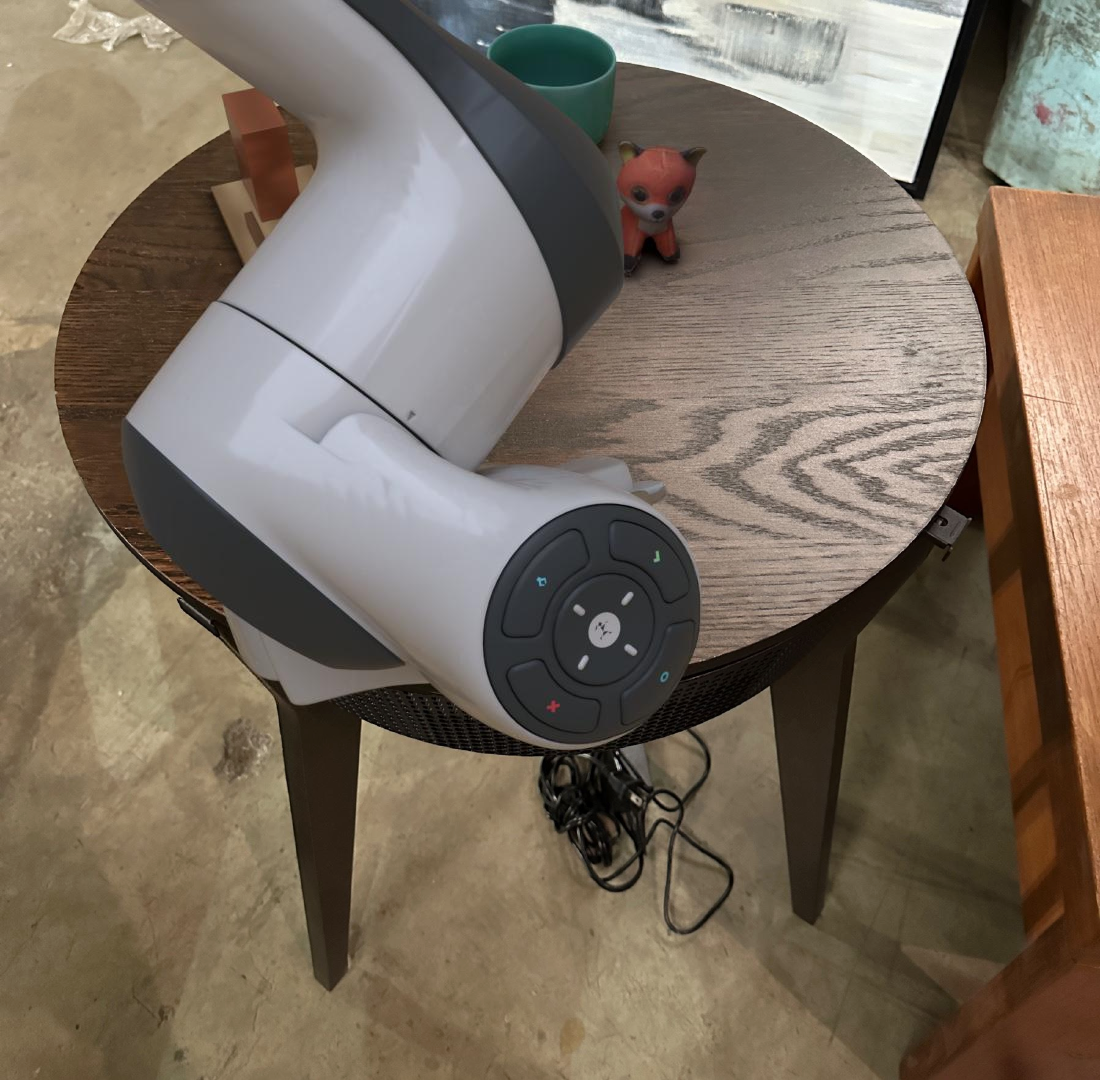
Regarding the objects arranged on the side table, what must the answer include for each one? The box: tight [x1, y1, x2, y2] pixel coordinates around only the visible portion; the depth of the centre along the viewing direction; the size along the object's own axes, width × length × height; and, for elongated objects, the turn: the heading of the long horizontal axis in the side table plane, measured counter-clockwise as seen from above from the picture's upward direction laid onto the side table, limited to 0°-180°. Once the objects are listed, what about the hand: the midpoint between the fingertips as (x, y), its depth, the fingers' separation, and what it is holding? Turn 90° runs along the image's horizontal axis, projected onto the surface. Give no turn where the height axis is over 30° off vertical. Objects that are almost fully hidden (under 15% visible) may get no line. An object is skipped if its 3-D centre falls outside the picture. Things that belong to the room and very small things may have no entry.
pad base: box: [210, 87, 315, 266], centre depth 93 cm, size 10×18×10 cm, turn 25°
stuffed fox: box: [616, 140, 709, 277], centre depth 92 cm, size 8×11×12 cm
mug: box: [485, 23, 617, 146], centre depth 103 cm, size 17×13×10 cm
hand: (407, 538), depth 56 cm, fingers open, 8 cm apart
